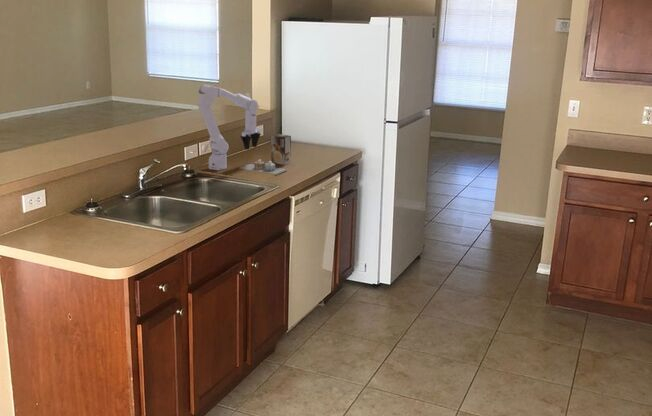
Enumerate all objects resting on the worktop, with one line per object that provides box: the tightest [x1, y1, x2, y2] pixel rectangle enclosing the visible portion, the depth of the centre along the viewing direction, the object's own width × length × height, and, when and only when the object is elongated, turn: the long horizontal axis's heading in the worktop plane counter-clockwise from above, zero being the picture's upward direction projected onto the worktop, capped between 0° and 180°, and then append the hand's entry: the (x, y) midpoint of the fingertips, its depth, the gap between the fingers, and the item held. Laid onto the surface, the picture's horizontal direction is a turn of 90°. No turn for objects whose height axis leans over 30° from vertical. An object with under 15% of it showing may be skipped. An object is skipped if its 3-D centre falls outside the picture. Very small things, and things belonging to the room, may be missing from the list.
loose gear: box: [254, 161, 266, 169], centre depth 350 cm, size 6×6×3 cm
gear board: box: [239, 159, 288, 177], centre depth 349 cm, size 12×22×6 cm, turn 66°
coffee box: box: [270, 133, 292, 166], centre depth 363 cm, size 9×6×16 cm
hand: (250, 147), depth 357 cm, fingers open, 7 cm apart
